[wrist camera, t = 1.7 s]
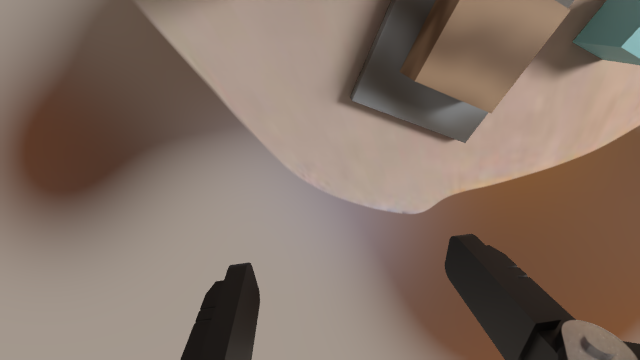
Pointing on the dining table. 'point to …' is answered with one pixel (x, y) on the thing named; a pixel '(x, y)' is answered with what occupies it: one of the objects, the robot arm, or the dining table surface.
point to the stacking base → (406, 89)
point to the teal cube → (614, 32)
